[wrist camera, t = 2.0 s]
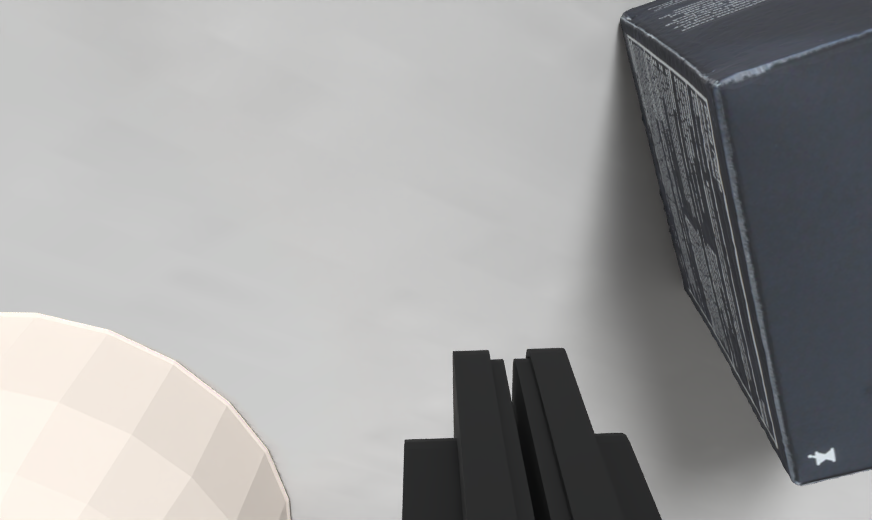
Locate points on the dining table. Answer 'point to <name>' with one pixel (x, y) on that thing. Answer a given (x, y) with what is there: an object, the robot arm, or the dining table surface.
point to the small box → (772, 203)
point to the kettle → (120, 433)
